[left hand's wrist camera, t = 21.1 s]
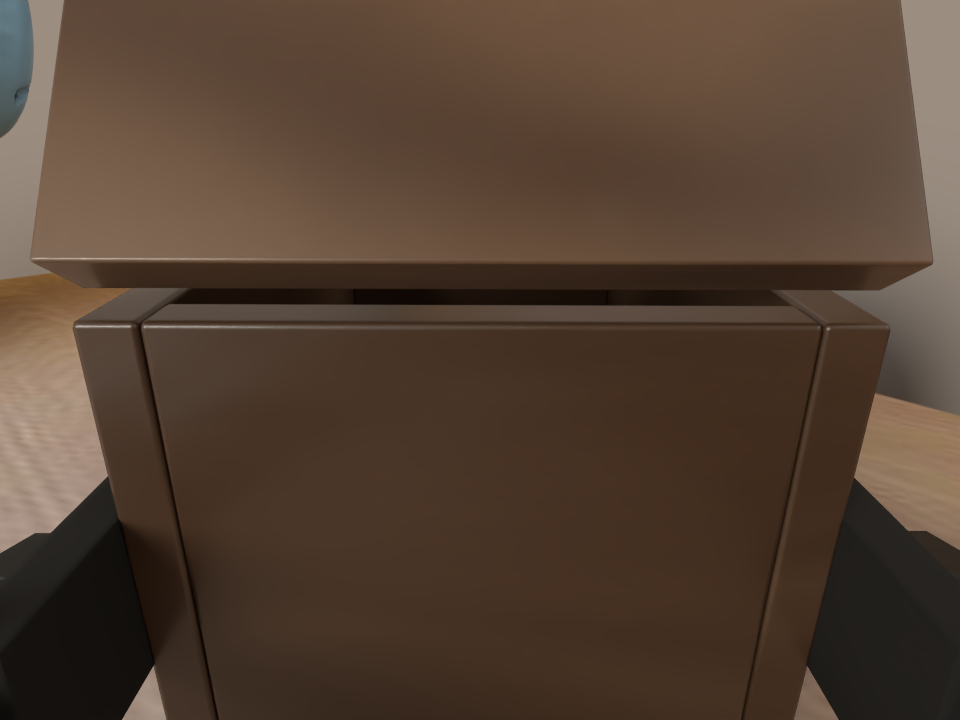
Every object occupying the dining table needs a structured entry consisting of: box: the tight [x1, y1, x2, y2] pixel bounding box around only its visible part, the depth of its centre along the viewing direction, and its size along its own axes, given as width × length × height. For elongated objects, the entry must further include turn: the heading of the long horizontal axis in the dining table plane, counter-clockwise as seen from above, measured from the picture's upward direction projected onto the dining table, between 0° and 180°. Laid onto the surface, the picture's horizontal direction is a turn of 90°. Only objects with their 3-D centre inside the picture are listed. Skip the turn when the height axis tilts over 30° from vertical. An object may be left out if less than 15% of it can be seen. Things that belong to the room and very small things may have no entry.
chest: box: [73, 288, 890, 720], centre depth 17 cm, size 15×10×10 cm
